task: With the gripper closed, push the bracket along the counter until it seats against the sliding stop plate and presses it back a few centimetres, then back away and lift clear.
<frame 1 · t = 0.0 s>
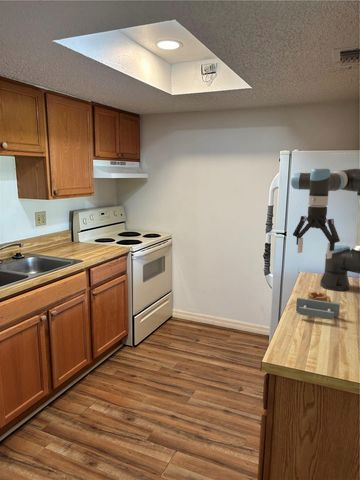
hand: (313, 255, 155), 28 cm above the counter, tool pointing down, fingers open, 13 cm apart
bracket: (318, 305, 174), on the counter
stop plate: (316, 310, 159), point 4 cm above the counter, slide at 0.0 cm
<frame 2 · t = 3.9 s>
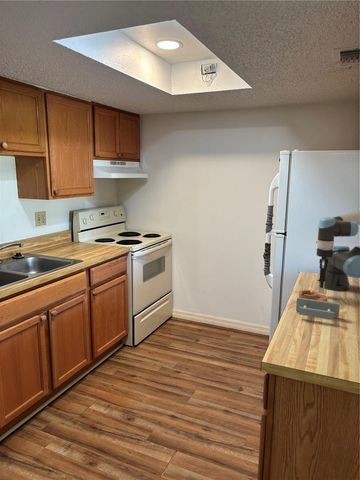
hand: (321, 292, 186), 2 cm above the counter, tool pointing down, fingers closed
bracket: (312, 304, 176), on the counter
everything else where it was.
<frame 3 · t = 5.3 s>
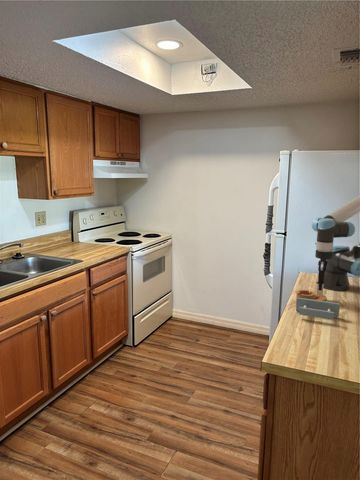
hand: (319, 295, 182), 2 cm above the counter, tool pointing down, fingers closed
bracket: (311, 304, 175), on the counter, touching gripper
everything else where it was.
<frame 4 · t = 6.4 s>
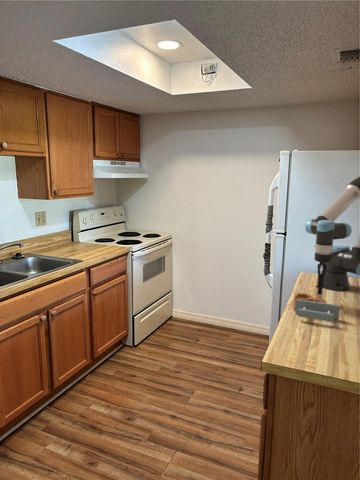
hand: (319, 299, 176), 2 cm above the counter, tool pointing down, fingers closed
bracket: (309, 308, 170), on the counter, touching gripper
stop plate: (316, 312, 157), point 4 cm above the counter, slide at 2.4 cm
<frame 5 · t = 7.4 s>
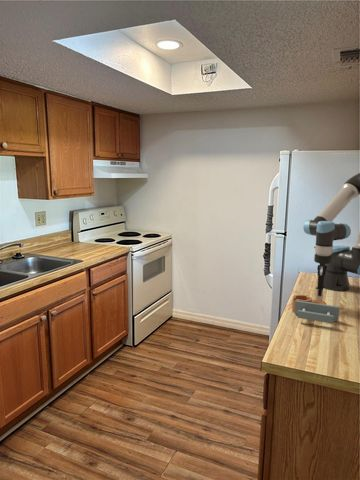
hand: (319, 301, 174), 2 cm above the counter, tool pointing down, fingers closed
bracket: (309, 310, 169), on the counter
stop plate: (315, 313, 155), point 4 cm above the counter, slide at 4.1 cm
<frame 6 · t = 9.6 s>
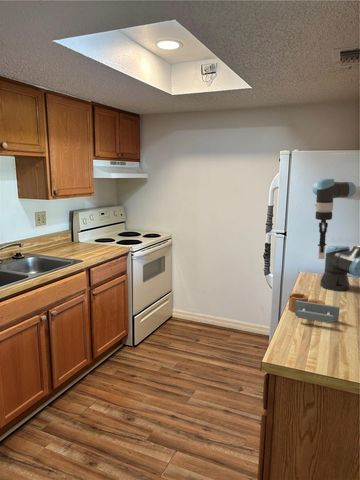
hand: (321, 258, 179), 21 cm above the counter, tool pointing down, fingers closed
bracket: (306, 309, 170), on the counter
everything else where it was.
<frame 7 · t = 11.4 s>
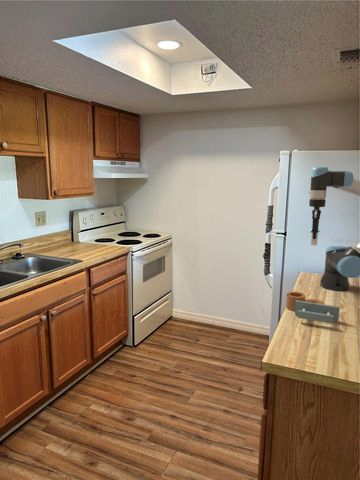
hand: (314, 244, 184), 26 cm above the counter, tool pointing down, fingers closed
bracket: (304, 308, 171), on the counter
everything else where it was.
at the end: stop plate slide at 4.1 cm; bracket moved 8.5 cm from its start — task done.
